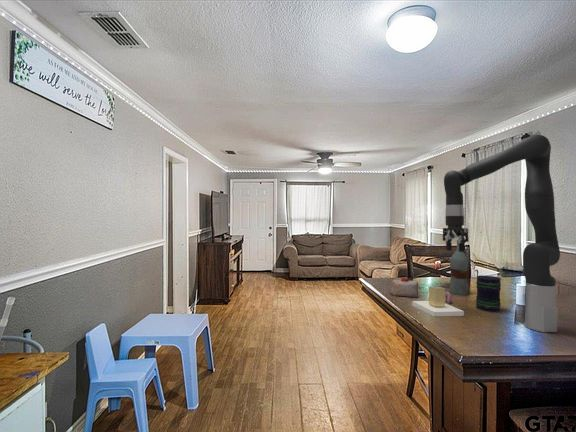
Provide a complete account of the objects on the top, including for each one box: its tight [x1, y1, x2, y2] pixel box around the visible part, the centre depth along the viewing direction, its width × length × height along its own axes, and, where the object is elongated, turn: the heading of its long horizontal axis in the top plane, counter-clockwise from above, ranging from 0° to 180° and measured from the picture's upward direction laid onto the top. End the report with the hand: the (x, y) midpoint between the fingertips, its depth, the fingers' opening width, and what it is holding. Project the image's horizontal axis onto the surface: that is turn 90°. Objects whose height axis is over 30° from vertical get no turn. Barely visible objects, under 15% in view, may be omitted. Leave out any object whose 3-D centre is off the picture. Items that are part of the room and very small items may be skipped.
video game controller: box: [445, 290, 453, 305], centre depth 168 cm, size 10×5×7 cm, turn 48°
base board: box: [411, 300, 465, 318], centre depth 152 cm, size 18×14×2 cm
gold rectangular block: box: [428, 286, 446, 307], centre depth 152 cm, size 5×5×8 cm
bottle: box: [448, 239, 469, 296], centre depth 187 cm, size 9×9×30 cm
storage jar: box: [475, 275, 502, 313], centre depth 156 cm, size 10×10×15 cm
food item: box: [391, 276, 419, 298], centre depth 180 cm, size 14×8×10 cm, turn 72°
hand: (455, 251), depth 150 cm, fingers open, 8 cm apart
